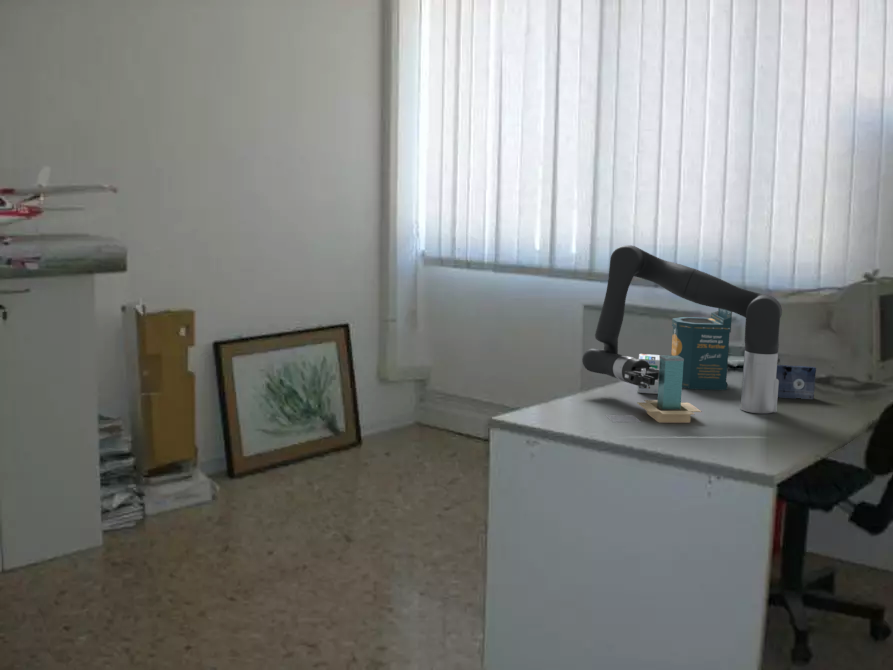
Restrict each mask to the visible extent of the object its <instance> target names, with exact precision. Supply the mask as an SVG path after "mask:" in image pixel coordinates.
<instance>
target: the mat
mask: <svg viewBox="0 0 893 670" xmlns="http://www.w3.org/2000/svg"><path fill="white" fill-rule="evenodd" d="M604 416H605V417H607V419H609V420H610V421H611V422H612V423H642V421H641V420H640V419H638V418H637V417H636V416H635V415H634V414H625V415H624V414H605V415H604Z"/></svg>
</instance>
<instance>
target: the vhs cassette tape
mask: <svg viewBox="0 0 893 670" xmlns="http://www.w3.org/2000/svg"><path fill="white" fill-rule="evenodd" d="M816 373H817V367H816V366H807V365H806V366H805V365H789V364H788V365H785V364H777V373H776V379H778V380H779V385H778V397H779V398H782V399H796V398H801V400H814V397H815V388H816V387H815V385H816V375H817V374H816Z"/></svg>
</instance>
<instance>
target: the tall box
mask: <svg viewBox="0 0 893 670" xmlns="http://www.w3.org/2000/svg"><path fill="white" fill-rule="evenodd" d="M659 355H660V354H659ZM683 362H684V359H683V358H682V357H680V356H673V355H671V354H670V355H666V354H665V355H663V354H662V355H660V366H659V383H658V394H657V399H656V400H657V409H658V410H660V411H681V403H682V392H683V388H682V378H683Z"/></svg>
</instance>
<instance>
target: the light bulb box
mask: <svg viewBox="0 0 893 670" xmlns="http://www.w3.org/2000/svg"><path fill="white" fill-rule="evenodd" d="M638 359H641V360H645V361H646V362H648V363H649V365H650V366H651V367H652V368H655V369H659V366H660V354H650V353H646V354H645V353H639V354H638ZM658 379H659V378H658ZM658 383H659V382H656V381H655V385H649V384H644V385H641V386H637V387H636V389H637V390H636V393H640V394H653V395H658Z"/></svg>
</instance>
